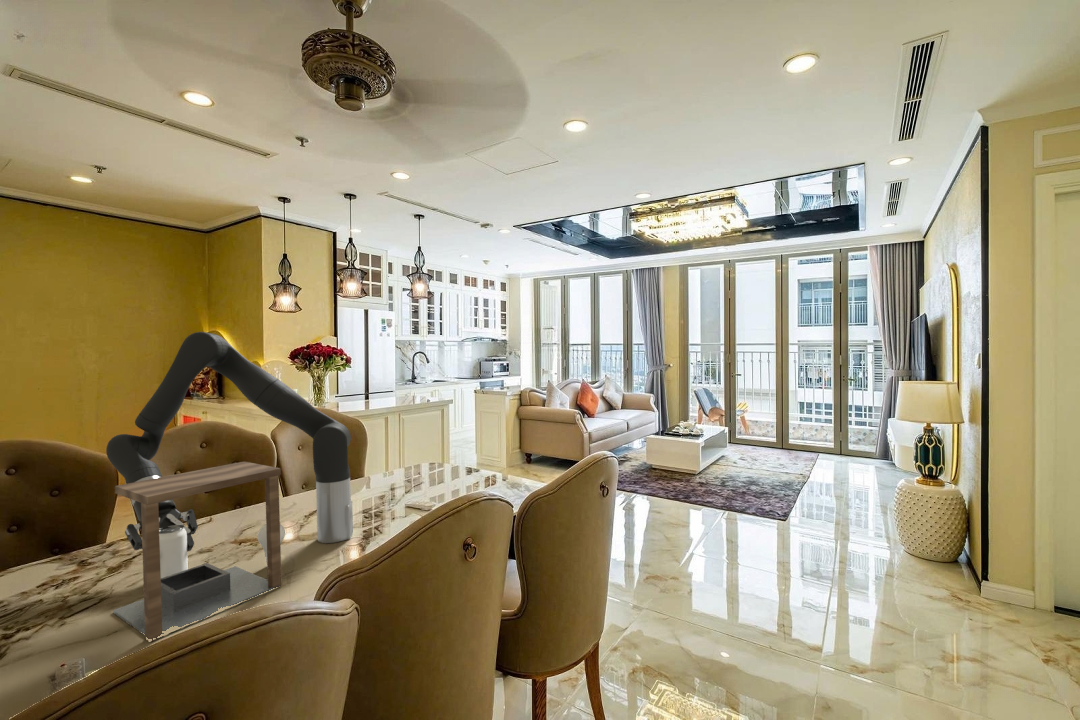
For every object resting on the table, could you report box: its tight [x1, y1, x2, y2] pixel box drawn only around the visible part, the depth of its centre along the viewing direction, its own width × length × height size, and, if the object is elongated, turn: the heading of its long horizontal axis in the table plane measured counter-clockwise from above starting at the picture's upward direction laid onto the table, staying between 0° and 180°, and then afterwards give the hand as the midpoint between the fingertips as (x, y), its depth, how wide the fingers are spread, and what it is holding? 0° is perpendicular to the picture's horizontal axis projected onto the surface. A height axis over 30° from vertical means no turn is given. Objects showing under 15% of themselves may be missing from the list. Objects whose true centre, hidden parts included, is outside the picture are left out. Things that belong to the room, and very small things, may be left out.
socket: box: [112, 562, 279, 640], centre depth 106 cm, size 20×24×4 cm
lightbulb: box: [257, 523, 286, 563], centre depth 122 cm, size 6×6×11 cm
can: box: [159, 524, 189, 578], centre depth 117 cm, size 6×6×12 cm
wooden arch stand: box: [114, 461, 283, 643], centre depth 104 cm, size 16×25×28 cm, turn 148°
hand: (173, 554), depth 116 cm, fingers closed on can, 6 cm apart
